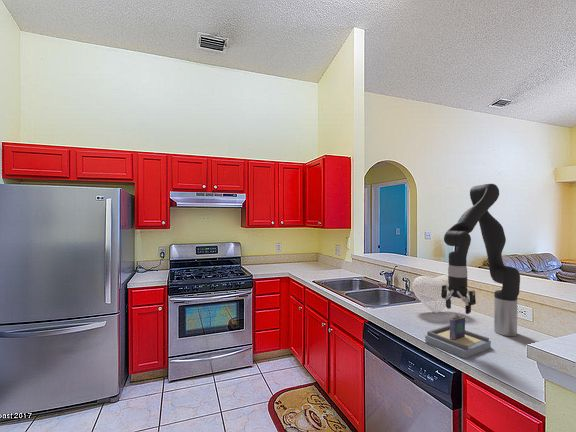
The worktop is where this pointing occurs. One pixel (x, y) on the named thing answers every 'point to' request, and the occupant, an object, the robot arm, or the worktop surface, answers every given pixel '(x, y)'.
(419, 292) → the heart
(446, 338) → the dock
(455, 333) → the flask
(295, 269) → the worktop surface
